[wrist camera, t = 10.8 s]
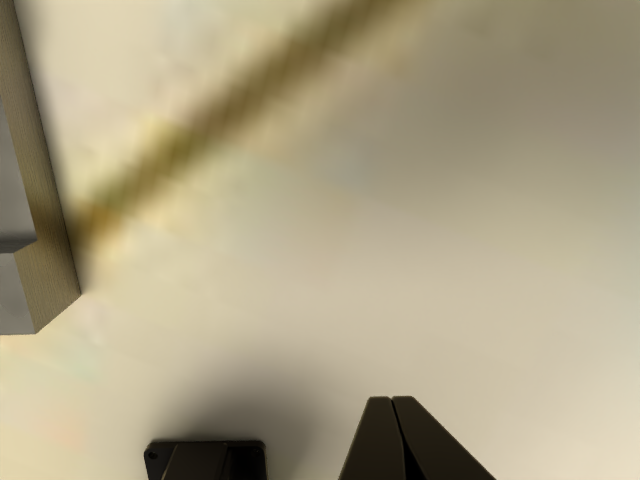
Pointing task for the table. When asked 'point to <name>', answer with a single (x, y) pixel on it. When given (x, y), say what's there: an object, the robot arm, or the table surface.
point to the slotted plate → (28, 201)
